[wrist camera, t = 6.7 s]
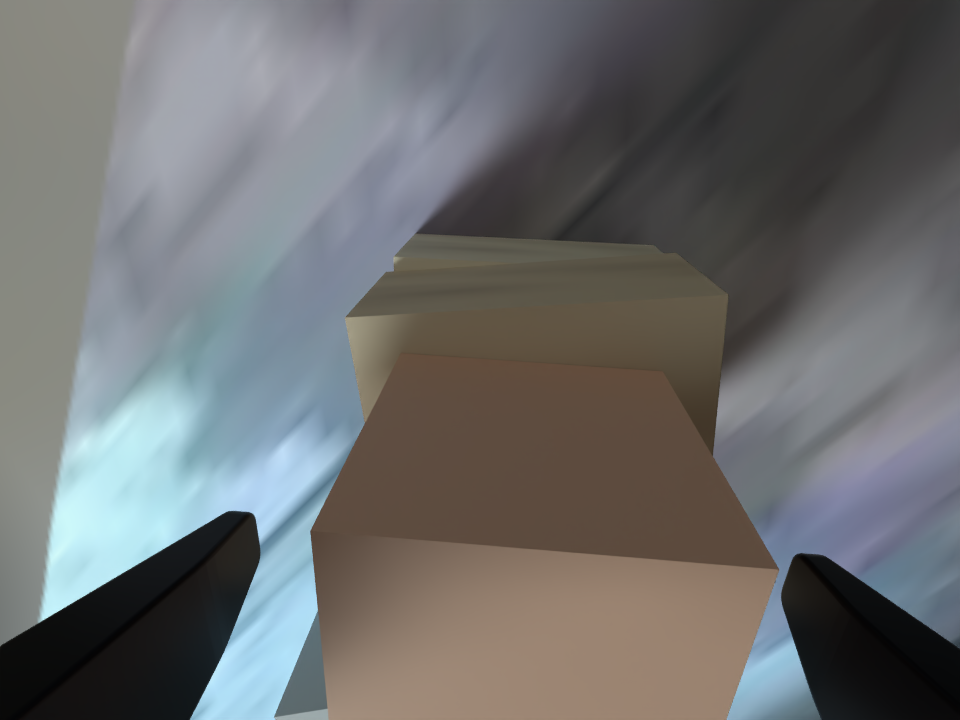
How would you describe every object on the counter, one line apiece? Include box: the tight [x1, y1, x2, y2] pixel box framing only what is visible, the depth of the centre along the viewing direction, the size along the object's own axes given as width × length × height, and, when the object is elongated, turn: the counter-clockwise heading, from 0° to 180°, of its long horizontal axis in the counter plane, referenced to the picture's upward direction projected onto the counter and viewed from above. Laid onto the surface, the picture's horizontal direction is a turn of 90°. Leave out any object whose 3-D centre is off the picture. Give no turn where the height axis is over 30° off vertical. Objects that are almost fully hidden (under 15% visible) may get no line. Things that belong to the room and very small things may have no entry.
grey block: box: [274, 612, 329, 720], centre depth 21 cm, size 5×5×5 cm
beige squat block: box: [345, 253, 729, 456], centre depth 13 cm, size 7×7×4 cm
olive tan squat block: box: [394, 234, 663, 272], centre depth 16 cm, size 7×7×4 cm
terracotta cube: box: [310, 353, 779, 720], centre depth 9 cm, size 5×5×5 cm
